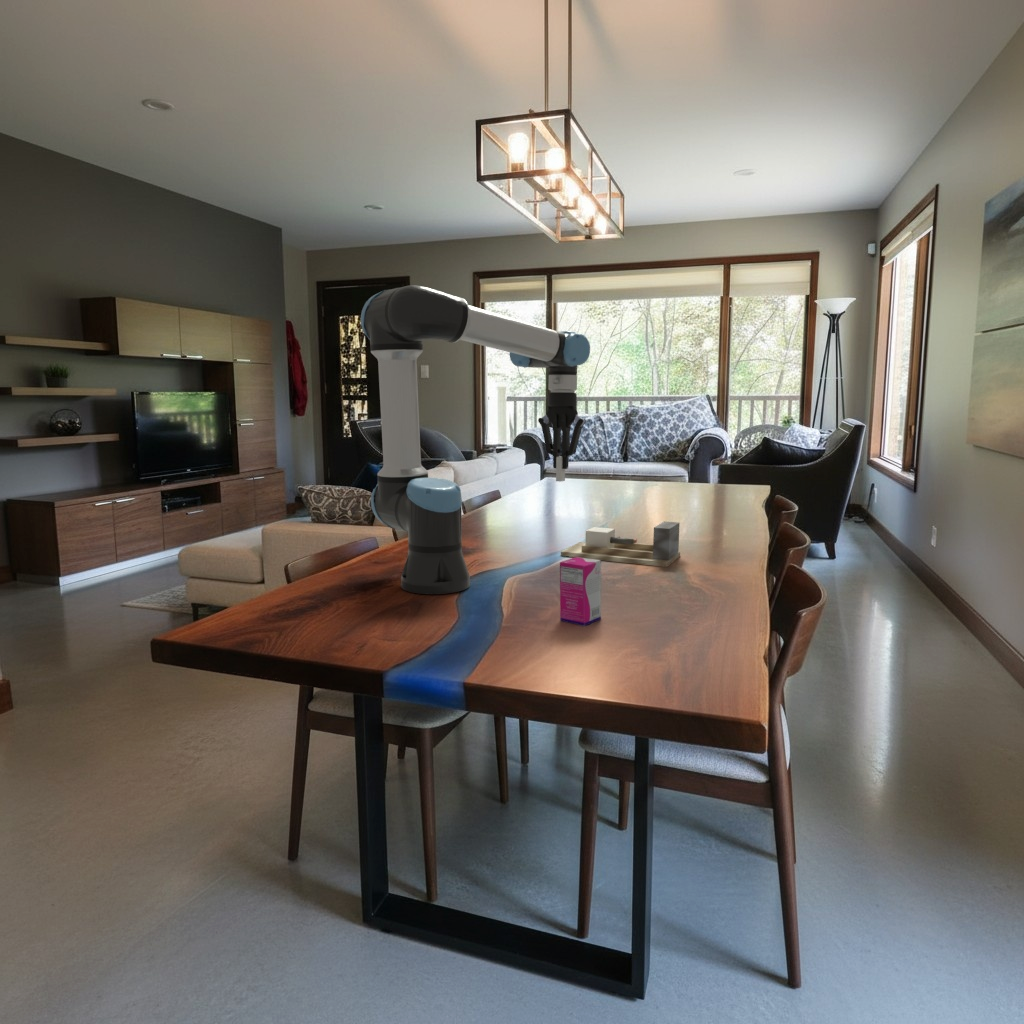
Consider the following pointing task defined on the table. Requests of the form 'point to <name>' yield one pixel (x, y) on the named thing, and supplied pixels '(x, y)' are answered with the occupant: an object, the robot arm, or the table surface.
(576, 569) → the supplement box
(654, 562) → the board
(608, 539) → the white block with rods
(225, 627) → the table surface
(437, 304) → the robot arm
